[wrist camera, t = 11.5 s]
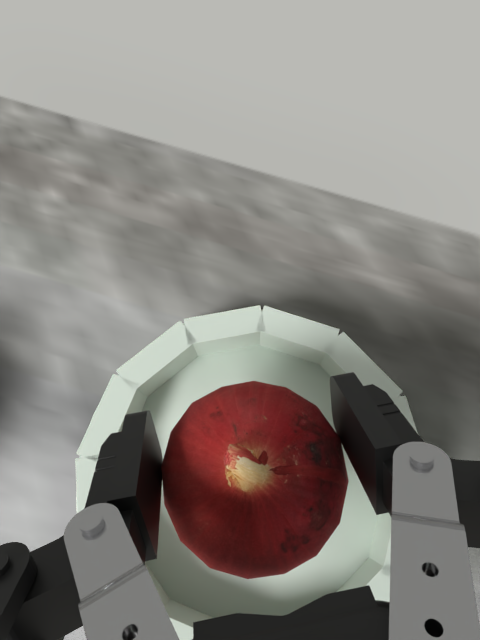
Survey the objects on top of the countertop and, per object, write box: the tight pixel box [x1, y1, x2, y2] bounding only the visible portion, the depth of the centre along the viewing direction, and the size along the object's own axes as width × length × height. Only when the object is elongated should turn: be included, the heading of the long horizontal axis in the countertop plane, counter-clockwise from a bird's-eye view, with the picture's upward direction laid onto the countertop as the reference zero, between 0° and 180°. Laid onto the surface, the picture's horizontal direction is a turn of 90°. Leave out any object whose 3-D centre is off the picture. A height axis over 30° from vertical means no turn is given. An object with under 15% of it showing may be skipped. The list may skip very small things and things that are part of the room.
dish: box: [75, 305, 418, 640], centre depth 18 cm, size 15×15×3 cm
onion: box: [161, 381, 349, 579], centre depth 14 cm, size 6×6×8 cm
